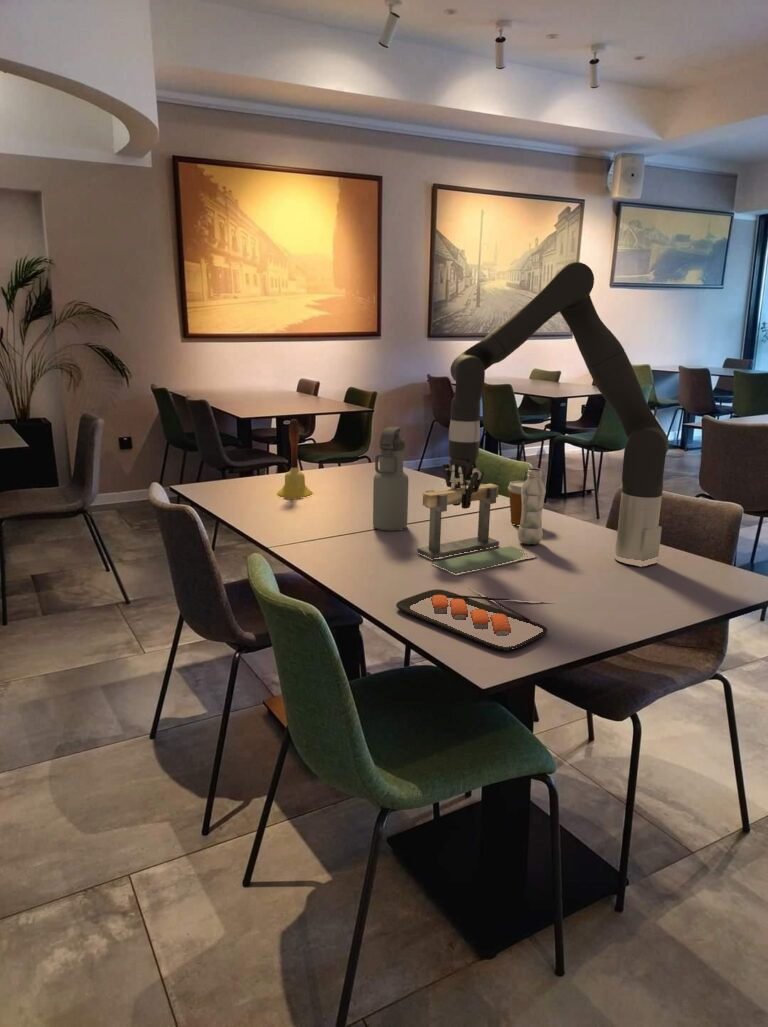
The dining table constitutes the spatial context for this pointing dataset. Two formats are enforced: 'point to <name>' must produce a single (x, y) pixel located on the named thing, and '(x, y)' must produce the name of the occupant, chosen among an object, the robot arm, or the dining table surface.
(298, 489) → the handbell
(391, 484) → the water bottle
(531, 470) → the plastic bottle
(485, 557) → the rubber mat
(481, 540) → the rail stand
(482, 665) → the dining table surface
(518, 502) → the disposable coffee cup
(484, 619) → the sushi plate
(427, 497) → the beech rail
